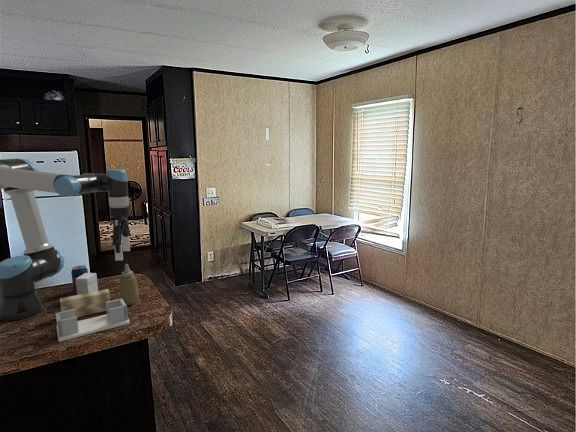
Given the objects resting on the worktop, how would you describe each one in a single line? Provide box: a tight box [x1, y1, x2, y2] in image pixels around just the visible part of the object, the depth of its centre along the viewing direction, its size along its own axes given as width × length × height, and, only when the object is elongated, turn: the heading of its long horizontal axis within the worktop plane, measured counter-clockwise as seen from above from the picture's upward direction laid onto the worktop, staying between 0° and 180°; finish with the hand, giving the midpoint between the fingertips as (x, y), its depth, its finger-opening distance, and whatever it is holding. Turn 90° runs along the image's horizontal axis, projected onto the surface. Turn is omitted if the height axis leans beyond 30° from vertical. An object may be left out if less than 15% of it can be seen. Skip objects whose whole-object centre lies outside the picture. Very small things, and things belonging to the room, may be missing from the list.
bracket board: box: [55, 298, 131, 343], centre depth 141 cm, size 24×12×7 cm, turn 125°
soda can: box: [70, 265, 89, 294], centre depth 176 cm, size 7×7×12 cm
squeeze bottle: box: [119, 263, 140, 306], centre depth 161 cm, size 8×8×18 cm
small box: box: [75, 272, 99, 295], centre depth 169 cm, size 8×6×10 cm
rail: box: [59, 288, 112, 318], centre depth 152 cm, size 18×4×8 cm, turn 125°
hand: (123, 255), depth 155 cm, fingers open, 13 cm apart
